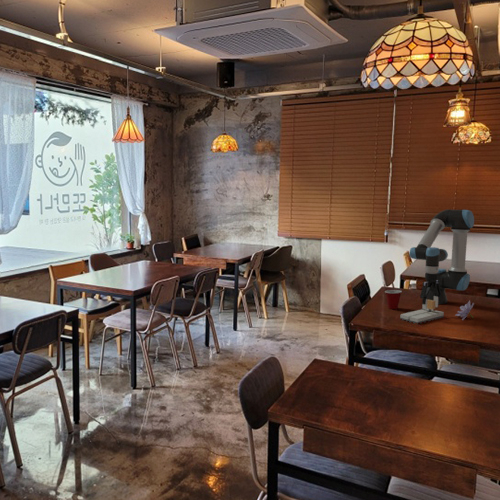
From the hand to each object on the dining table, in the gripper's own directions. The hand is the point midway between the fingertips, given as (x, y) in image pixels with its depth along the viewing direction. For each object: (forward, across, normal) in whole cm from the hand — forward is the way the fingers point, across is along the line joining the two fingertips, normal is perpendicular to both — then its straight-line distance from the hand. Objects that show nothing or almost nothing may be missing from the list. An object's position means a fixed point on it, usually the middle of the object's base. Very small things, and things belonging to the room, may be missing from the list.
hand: (430, 308), depth 282 cm
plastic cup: (+6, -3, +26) cm, 27 cm away
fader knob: (+4, 0, 0) cm, 4 cm away
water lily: (+6, +15, -14) cm, 21 cm away
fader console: (+5, -8, 0) cm, 9 cm away
